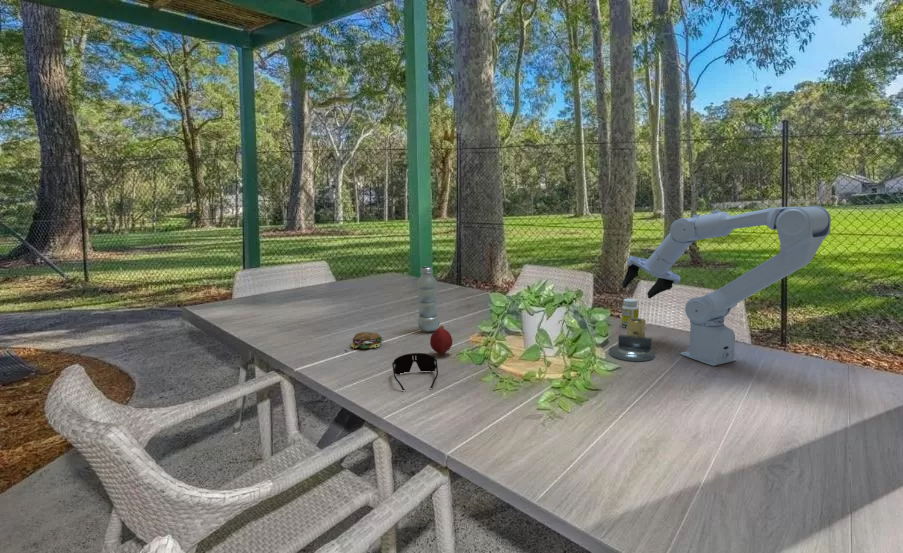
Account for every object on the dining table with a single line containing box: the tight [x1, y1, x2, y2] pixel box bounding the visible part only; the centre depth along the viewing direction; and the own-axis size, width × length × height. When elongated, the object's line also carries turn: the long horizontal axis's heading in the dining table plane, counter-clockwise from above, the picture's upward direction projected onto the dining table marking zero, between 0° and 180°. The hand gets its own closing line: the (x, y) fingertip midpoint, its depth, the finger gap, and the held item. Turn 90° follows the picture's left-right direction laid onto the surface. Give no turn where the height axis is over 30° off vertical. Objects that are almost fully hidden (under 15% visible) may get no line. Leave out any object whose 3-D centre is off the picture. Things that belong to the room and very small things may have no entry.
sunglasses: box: [391, 352, 439, 391], centre depth 111 cm, size 10×12×5 cm
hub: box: [626, 317, 646, 337], centre depth 135 cm, size 5×5×6 cm
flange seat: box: [608, 334, 656, 363], centre depth 124 cm, size 11×11×3 cm
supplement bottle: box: [621, 298, 640, 329], centre depth 149 cm, size 5×5×8 cm
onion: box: [429, 324, 453, 355], centre depth 128 cm, size 6×6×8 cm
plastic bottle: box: [416, 266, 440, 333], centre depth 150 cm, size 6×7×20 cm
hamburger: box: [350, 331, 383, 349], centre depth 137 cm, size 14×14×6 cm
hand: (636, 290), depth 136 cm, fingers open, 7 cm apart
